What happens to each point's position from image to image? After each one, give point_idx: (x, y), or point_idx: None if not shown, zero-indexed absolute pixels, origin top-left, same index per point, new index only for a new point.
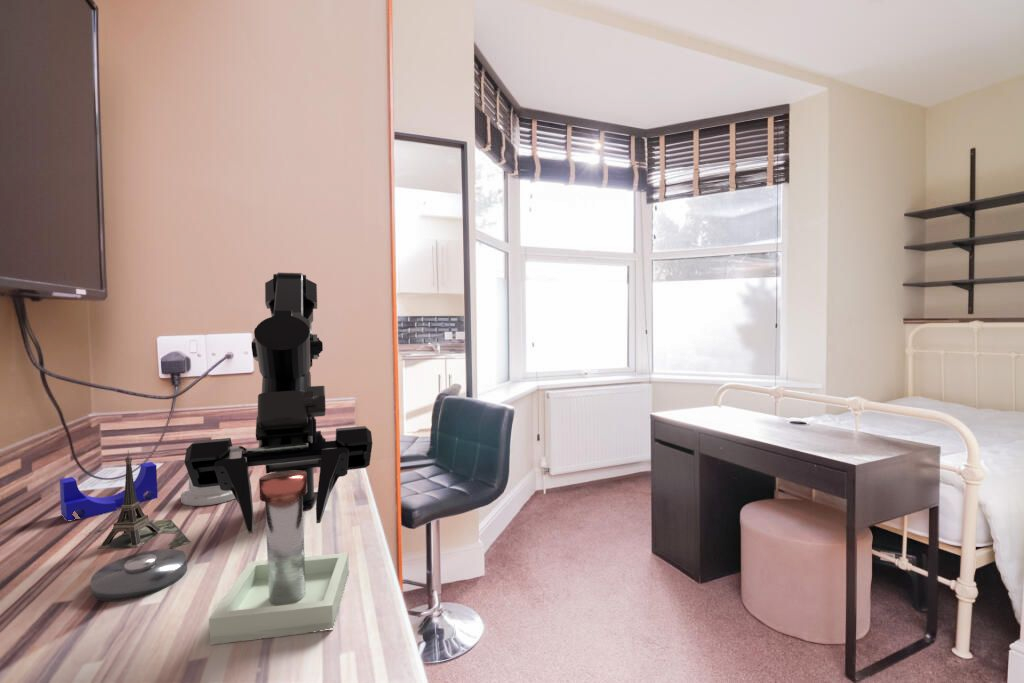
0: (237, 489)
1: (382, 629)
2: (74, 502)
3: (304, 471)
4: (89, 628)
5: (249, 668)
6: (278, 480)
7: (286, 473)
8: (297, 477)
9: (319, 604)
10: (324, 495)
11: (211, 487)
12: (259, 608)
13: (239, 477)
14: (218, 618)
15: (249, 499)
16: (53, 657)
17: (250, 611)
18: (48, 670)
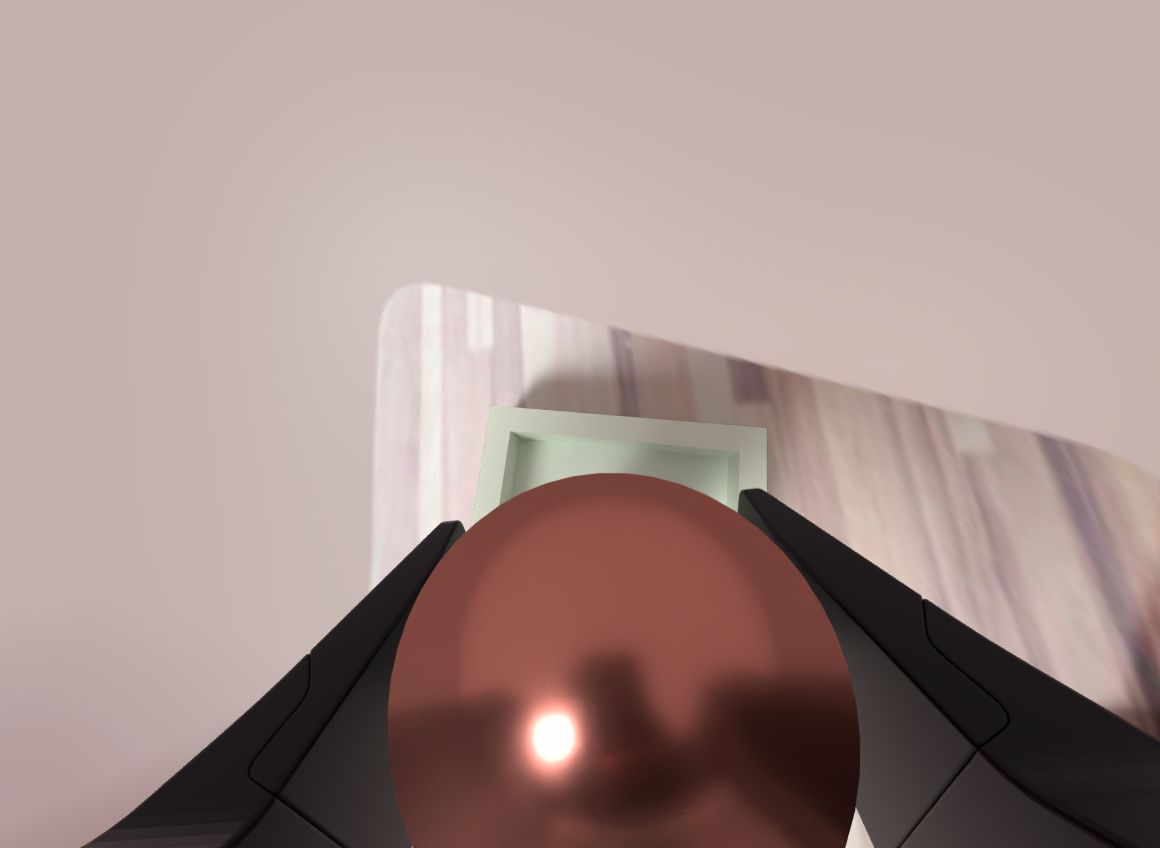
0: (1005, 660)
1: (414, 396)
2: None
3: (409, 825)
4: (1097, 604)
5: (646, 349)
6: (633, 549)
7: (597, 826)
8: (467, 587)
9: (518, 415)
10: (367, 606)
11: None
12: (656, 439)
13: (1131, 787)
14: (745, 427)
15: (838, 594)
16: (1090, 495)
17: (675, 434)
18: (1061, 449)
